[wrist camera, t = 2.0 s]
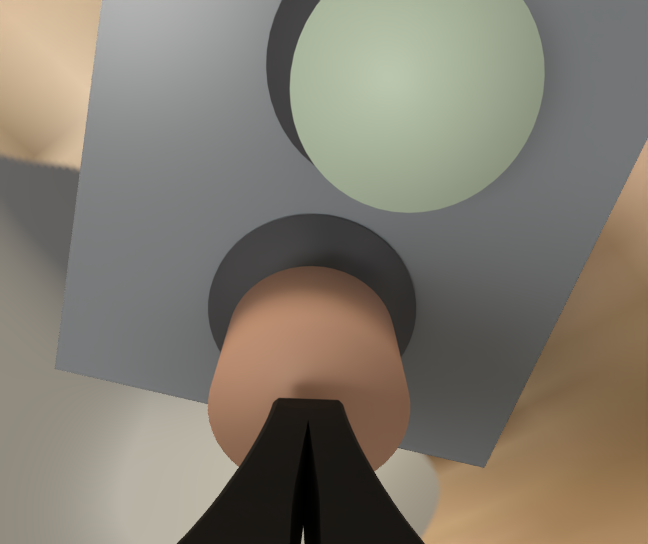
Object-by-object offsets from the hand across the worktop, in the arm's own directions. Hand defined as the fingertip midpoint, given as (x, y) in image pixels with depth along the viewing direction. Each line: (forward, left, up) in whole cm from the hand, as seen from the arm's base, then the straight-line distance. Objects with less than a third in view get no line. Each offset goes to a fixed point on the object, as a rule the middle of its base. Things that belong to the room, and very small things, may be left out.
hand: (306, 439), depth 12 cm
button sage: (0, -7, -4) cm, 8 cm away
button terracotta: (0, 0, -4) cm, 4 cm away
